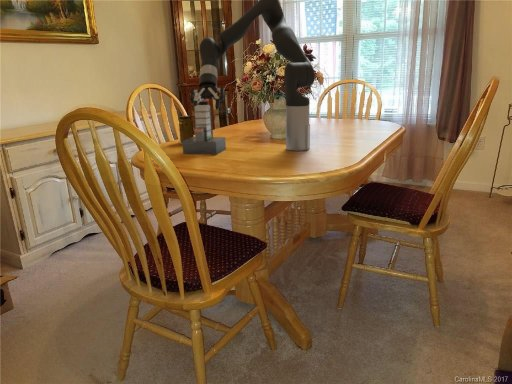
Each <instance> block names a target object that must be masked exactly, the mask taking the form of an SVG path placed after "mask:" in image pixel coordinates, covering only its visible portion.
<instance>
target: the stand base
mask: <svg viewBox="0 0 512 384" xmlns="http://www.w3.org/2000/svg"><path fill="white" fill-rule="evenodd" d="M193 133H194V135H195V136H193V137H191V138H189V139H186V140H184V141H182V143H183V144H182V153H183V154H184V155H215V156H217V155H219V154H220V153H222V152H224V151H225V150H227V144H226V142H227V141H226V136H213V137H211V138H210V139H208V140H205V128H196V127H195V128H193Z"/></svg>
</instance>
